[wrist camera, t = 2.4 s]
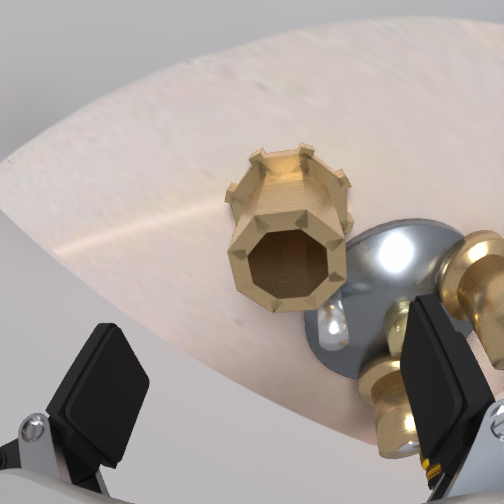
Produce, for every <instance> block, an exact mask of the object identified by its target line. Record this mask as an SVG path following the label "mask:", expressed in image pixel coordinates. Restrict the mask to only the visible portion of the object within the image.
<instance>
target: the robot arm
mask: <svg viewBox="0 0 504 504" xmlns="http://www.w3.org/2000/svg"><path fill="white" fill-rule="evenodd" d="M400 372H401V376H402V379H403V382H404V386H405V389H406V393H407V396H408V400H409V404H410V407H411V411H412V415H413V419H414V423H415V427H416V431H417V435H418V440H419V444H420V448H421V453H422V456H423V458H424V459H428V460H429V465H430V466H431V465H435V464H438V463H440V466H441V471H442V473H443V475H442V477H441V478H440V480H439V482H438V484H437V485H436V487H435V489H434V491H433V492H432V494H431V496H430V497H429V499H428V500H427V502H426V503H423V504H504V399H503V400H499V401H497V402H496V401H495V398H494V396H493V394H492V392H491V389H490V387H489V385H488V383H487V381H486V378H485V376H484V374H483V372H482V370H481V368H480V366H479V364H478V362H477V360H476V358H475V356H474V354H473V352H472V350H471V348H470V346H469V344H468V342H467V341H466V339H465V337H464V335H463V334H462V333H461V332H459V331H455V329H454V327H453V325H452V323H451V321H450V320H449V318H448V316H447V314H446V312H445V311H444V309H443V307H442V305H441V304H440V302H439V300H438V299H437V297H436V295H435V294H433V293H431V294H425V295H420V296H416V297H415V300H414V301H413V302H410V304H409V311H408V317H407V324H406V330H405V336H404V342H403V347H402V352H401V357H400ZM148 388H149V378H148V376H147V374H146V373H145V371H144V369H143V368H142V366H141V364H140V362H139V361H138V359H137V357H136V356H135V354H134V352H133V350H132V349H131V347H130V345H129V343H128V341H127V339H126V338H125V336H124V334H123V332H122V330H121V329H120V328H119V327H117V325H116V324H114V323H100V324H98V325H97V326H96V328H95V329H94V331H93V333H92V334H91V335H90V337H89V338H88V340H87V341H86V343H85V345H84V346H83V348H82V349H81V351H80V353H79V354H78V356H77V357H76V359H75V361H74V362H73V364H72V366H71V367H70V369H69V371H68V372H67V374H66V375H65V377H64V379H63V381H62V382H61V384H60V386H59V387H58V389H57V391H56V393H55V394H54V396H53V398H52V400H51V401H50V403H49V405H48V407H47V408H46V412H47V413H48V414H49V415H50V416H49V418H47V417H46V416H45V415H44V414H42V413H34V414H31V415H30V416H28V417H27V418H26V419H25V420H24V421H23V422H22V423H21V425H20V427H19V431H18V438H17V439H15V440H13V441H12V442H10V443H8V444H5V445H3V446H1V447H0V504H133V503H129V502H126V501H122V500H119V499H115V498H112V497H110V495H109V493H108V490H107V488H106V485H105V483H104V480H103V478H102V475H101V472H100V469H99V467H100V464H102V465H103V466H106V467H110V468H114V469H116V466H117V463H118V462H120V461H121V460H122V458H123V455H124V452H125V449H126V446H127V444H128V441H129V438H130V436H131V433H132V430H133V427H134V425H135V422H136V419H137V417H138V414H139V411H140V409H141V406H142V404H143V401H144V398H145V396H146V393H147V391H148Z"/></svg>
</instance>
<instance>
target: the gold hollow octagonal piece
mask: <svg viewBox="0 0 504 504" xmlns="http://www.w3.org/2000/svg"><path fill="white" fill-rule="evenodd" d="M249 161H250V162H251V164H252V165H251V167H250V168H249V169H248V171H247V172H246V173H245V175H244V176H243V178H242V179H241V180H240V182H239V183H238V184H235V183H231V184H230V186H229V187H228V189H227V191H226V197H225V202H227V203H231V205H232V210H233V214H234V219H235V223H236V228H235V231H234V233H233V238H232V240H231V243H230V245H229V248H228V251H227V252H228V257H229V261H230V265H231V269H232V273H233V277H234V281H235V285H236V288H237V291H238V292H240V293H242V294H243V295H245V296H246V297H248V298H250V299H251V300H253V301H254V302H256V303H258V304H259V305H261V306H263V307H264V308H266V309H267V310H269V311H271V312H272V313H280V312H292V311H304V310H315V309H317V308H319V307H320V306H321V305H322V304H323V303H324V302H325V301H326V300H327V299H328V298H329V297H330V296H331V295H332V294H333V293H334V292H335V291H336V290H337V289H339V288H340V287H341V286H342V285H343V284H344V283H345V282H346V281H347V272H346V247H345V237H344V234H343V232H345V233H349V234H350V232H351V229H352V227H353V224H354V221H353V219H352V217H351V214H350V213H348V212H347V202H346V189H348V188H350V187H352V186H351V184H350V182H349V180H348V179H347V177H346V175H345V173H344V172H343V170H342V169H340V170H338V171H337V172H336V171H334V170H333V169H332V168H330V167H329V166H328V165H327V164H325V163H324V162H323V161H322V160H320V159H319V158H318V157H316V156H315V155H314V148H313V146H311V145H307V144H304V143H300V145H299V149H294V150H287V151H279V152H272V153H266V152H265V151H264V149H263V148H261V149H259V150H258V151H256V152H254V153H253V154H252V155H251V156H250V158H249Z"/></svg>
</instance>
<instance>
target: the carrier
mask: <svg viewBox="0 0 504 504" xmlns="http://www.w3.org/2000/svg"><path fill="white" fill-rule="evenodd" d="M345 247H346V272H347V281H346V282H345V283H344V284H343V285H342V286H341V287H340V288H339V289H337V290H336V291H335V292H334V293H333V294H332V295H331V296H330V297H329V298H328V299H327V300H326V301H325V302H324V303H323V304H322V305H321V306H320V307H319V308H317V309H315V310H305V330H306V335H307V340H308V342H309V345H310V347H311V349H312V351H313V352H314V354H315V355H316V357H317V358H318V359H319V360H320V361H321V362H322V363H323V364H324V365H326V366H327V367H328V368H330V369H331V370H333V371H334V372H336V373H338V374H341V375H343V376H346V377H349V378H352V379H357V383H358V391H359V397H360V399H361V401H362V402H363V403H365V404H366V405H368V406H371V407H373V410H374V417H375V424H376V432H377V440H378V448H379V455H380V456H381V457H383V458H387V459H398V458H404V457H408V456H411V455H414V454H417V453H420V452H421V448H420V444H419V440H418V435H417V431H416V427H415V423H414V419H413V415H412V411H411V407H410V404H409V400H408V396H407V393H406V389H405V386H404V382H403V379H402V376H401V372H400V357H401V352H402V347H403V342H404V336H405V330H406V324H407V317H408V311H409V304H410V302H413V301H414V300H415V297H416V296H420V295H425V294H431V293H433V294H435V295H436V297H437V299H438V300H439V302H440V304H441V305H442V307H443V309H444V311H445V312H446V314H447V316H448V318H449V320H450V321H451V323H452V325H453V327H454V329H455V331H459V332H461V333H462V334H463V335H464V337H465V339H466V338H467V337H468V335H469V334H470V333H471V331H472V330H473V329H474V331H475V333H476V334H477V336H478V338H479V340H480V342H481V344H482V346H483V348H484V350H485V352H486V354H487V356H488V358H489V360H490V362H491V364H492V366H493V367H494V368H495V369H497V370H504V238H503V237H502V236H500V235H499V234H498V233H496V232H493V231H489V230H481V231H477V232H474V233H471V234H469V235H467V236H466V237H464V236H463V235H462V234H461V233H460V232H459V231H457V230H456V229H454V228H453V227H451V226H448V225H446V224H444V223H441V222H438V221H434V220H429V219H420V218H416V219H402V220H396V221H391V222H388V223H384V224H381V225H378V226H376V227H373V228H371V229H369V230H366V231H364V232H363V233H361V234H359V235H358V236H356V237H354V238H352V239H351V240H350V241H348V242H347V243H346V244H345Z"/></svg>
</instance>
